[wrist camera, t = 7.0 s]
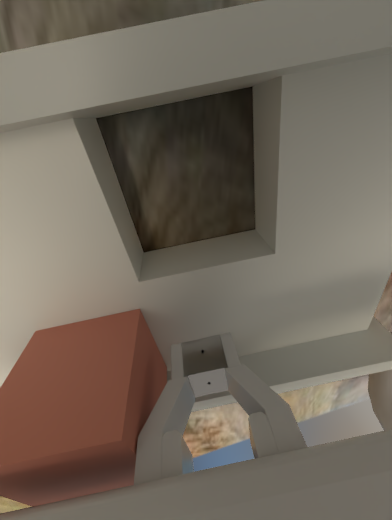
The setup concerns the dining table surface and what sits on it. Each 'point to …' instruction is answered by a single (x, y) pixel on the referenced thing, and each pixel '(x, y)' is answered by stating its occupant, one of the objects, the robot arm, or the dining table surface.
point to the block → (78, 408)
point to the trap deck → (265, 180)
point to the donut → (381, 397)
